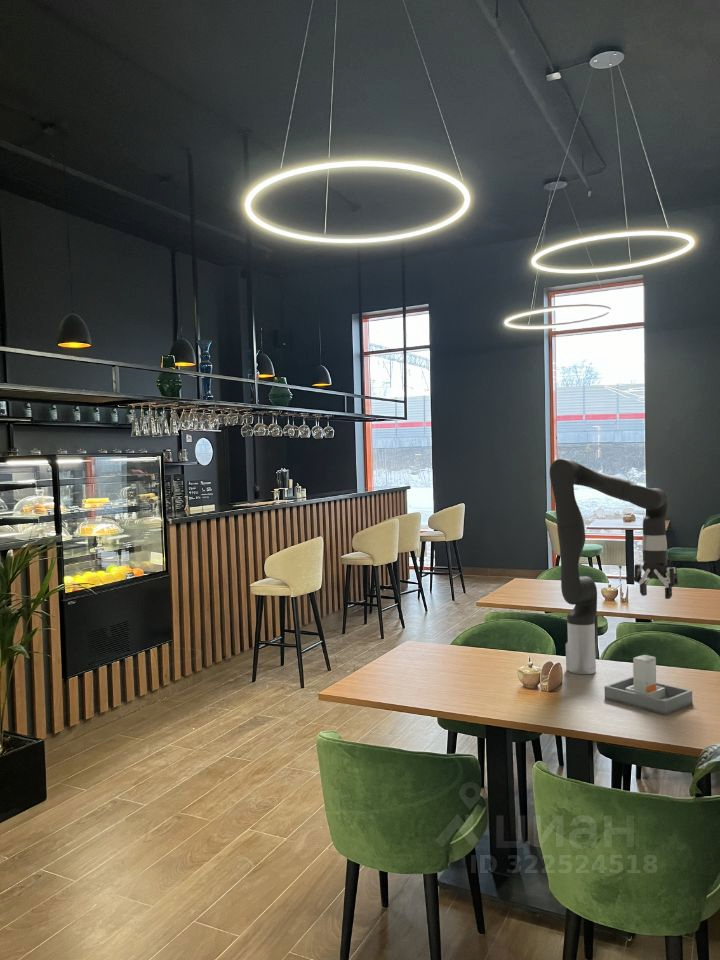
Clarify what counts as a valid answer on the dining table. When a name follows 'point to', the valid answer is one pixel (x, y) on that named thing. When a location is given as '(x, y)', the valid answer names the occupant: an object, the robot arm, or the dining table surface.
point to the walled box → (649, 697)
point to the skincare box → (644, 673)
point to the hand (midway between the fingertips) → (655, 597)
